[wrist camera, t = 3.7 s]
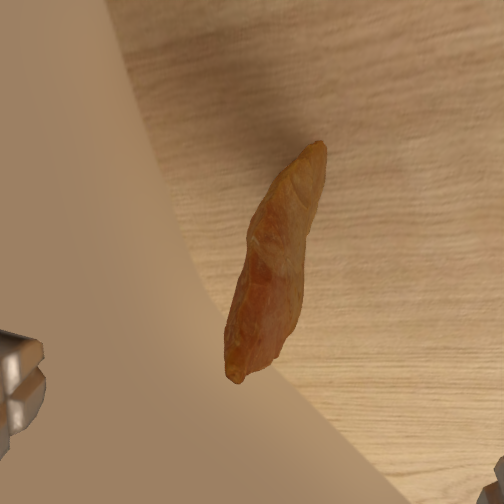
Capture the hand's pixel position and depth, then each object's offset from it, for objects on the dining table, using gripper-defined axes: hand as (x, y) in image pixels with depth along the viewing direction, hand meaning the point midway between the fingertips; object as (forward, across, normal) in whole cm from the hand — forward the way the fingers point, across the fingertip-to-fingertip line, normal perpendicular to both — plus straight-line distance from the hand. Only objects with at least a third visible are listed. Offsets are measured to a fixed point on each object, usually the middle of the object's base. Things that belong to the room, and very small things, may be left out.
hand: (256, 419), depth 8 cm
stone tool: (+16, 0, 0) cm, 16 cm away
